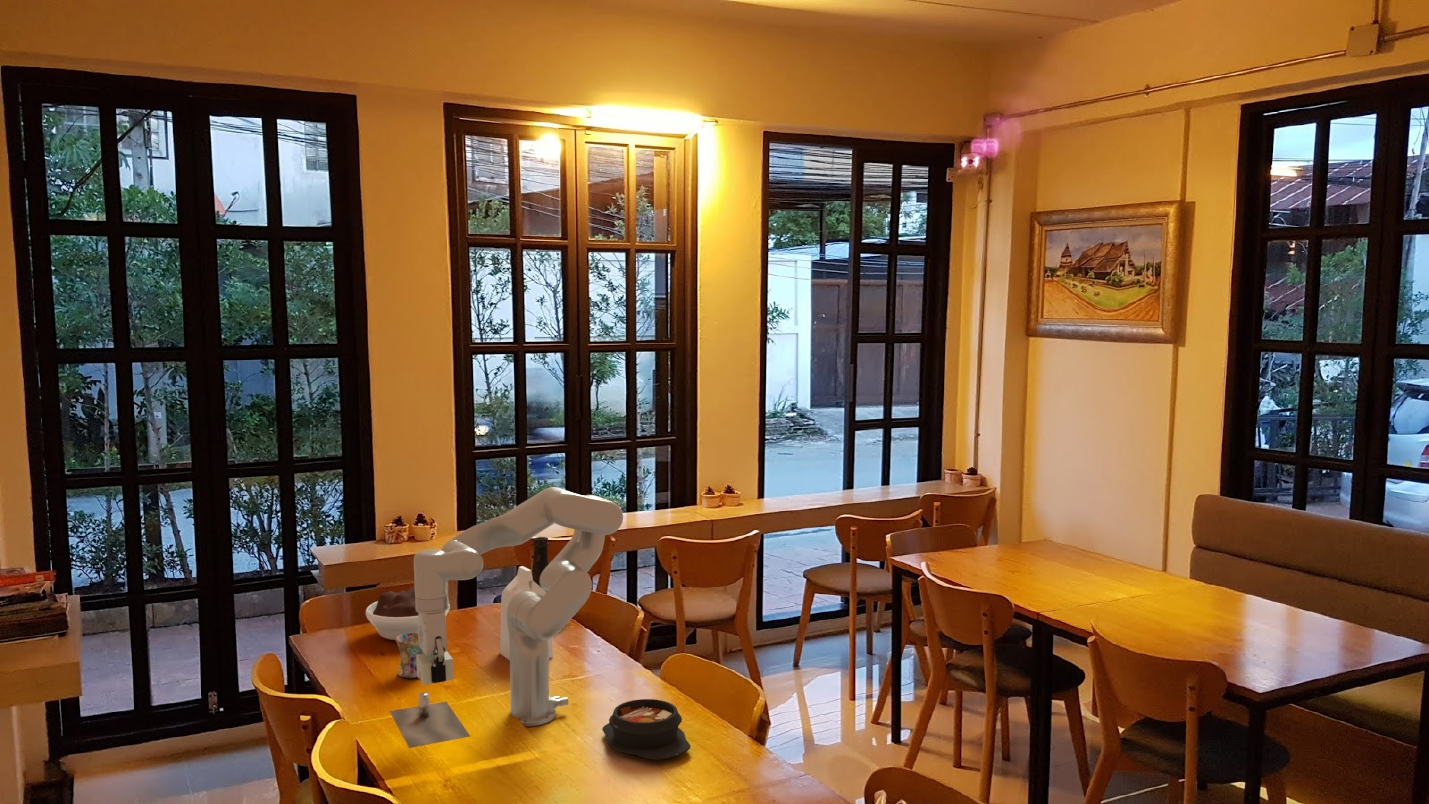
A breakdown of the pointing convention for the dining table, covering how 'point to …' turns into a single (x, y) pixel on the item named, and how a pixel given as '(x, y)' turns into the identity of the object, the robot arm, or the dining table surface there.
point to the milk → (515, 586)
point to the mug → (408, 654)
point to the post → (424, 705)
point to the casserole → (646, 729)
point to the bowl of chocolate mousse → (395, 614)
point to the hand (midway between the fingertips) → (435, 676)
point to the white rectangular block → (425, 667)
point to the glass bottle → (539, 558)
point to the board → (429, 725)
